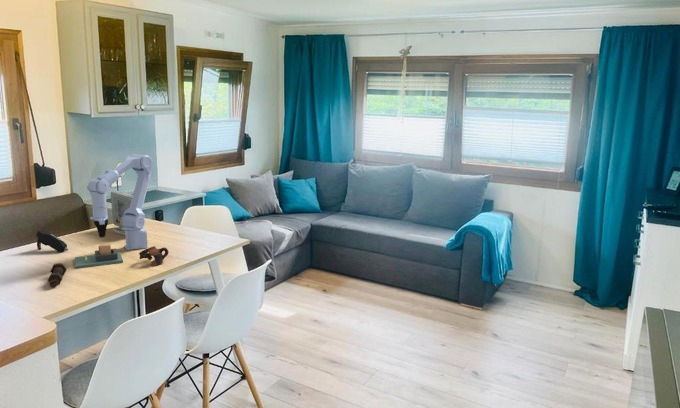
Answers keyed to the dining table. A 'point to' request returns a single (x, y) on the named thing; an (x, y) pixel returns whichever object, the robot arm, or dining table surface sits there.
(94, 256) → the header board
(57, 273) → the bolt
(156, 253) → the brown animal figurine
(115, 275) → the dining table surface
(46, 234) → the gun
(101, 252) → the plug
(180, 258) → the dining table surface
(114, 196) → the network device
